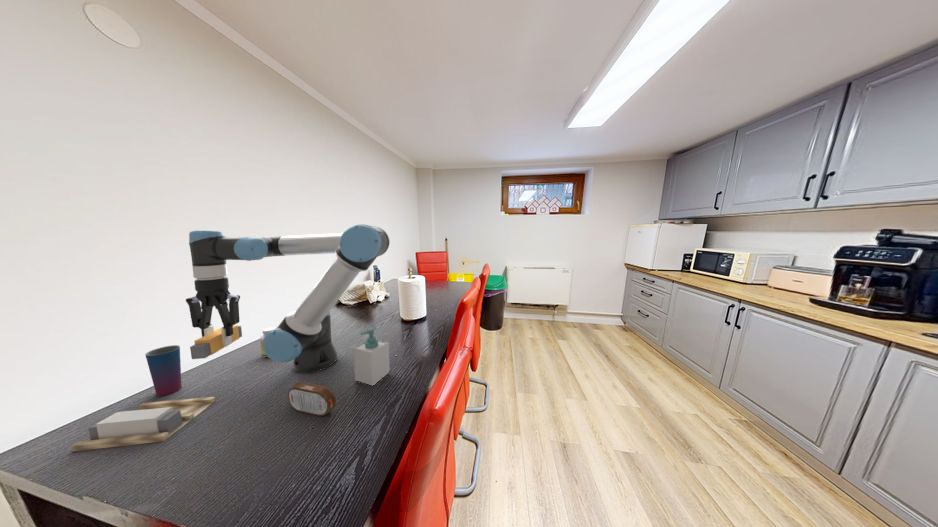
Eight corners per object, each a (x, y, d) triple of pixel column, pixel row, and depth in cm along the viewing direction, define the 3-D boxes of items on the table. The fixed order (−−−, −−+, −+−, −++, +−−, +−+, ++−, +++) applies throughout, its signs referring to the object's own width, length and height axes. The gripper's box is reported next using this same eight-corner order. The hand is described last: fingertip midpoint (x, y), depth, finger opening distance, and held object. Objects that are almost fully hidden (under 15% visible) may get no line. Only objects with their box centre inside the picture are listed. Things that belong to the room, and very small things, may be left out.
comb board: (215, 403, 74) (214, 396, 73) (164, 443, 59) (163, 435, 59) (145, 409, 71) (144, 402, 70) (73, 454, 56) (71, 445, 56)
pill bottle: (261, 359, 99) (259, 333, 97) (262, 353, 104) (259, 328, 102) (281, 355, 103) (279, 329, 101) (281, 349, 108) (279, 325, 106)
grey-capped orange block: (230, 337, 88) (228, 324, 87) (243, 336, 88) (241, 323, 88) (190, 359, 72) (188, 343, 71) (206, 358, 73) (204, 342, 72)
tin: (337, 412, 71) (335, 386, 70) (328, 420, 68) (327, 393, 67) (296, 403, 74) (294, 378, 73) (286, 410, 71) (284, 384, 70)
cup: (162, 402, 74) (154, 356, 72) (146, 398, 75) (139, 354, 73) (191, 388, 80) (185, 346, 79) (176, 385, 82) (170, 344, 80)
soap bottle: (354, 381, 85) (351, 330, 83) (372, 368, 94) (370, 322, 91) (372, 387, 82) (370, 335, 80) (389, 373, 90) (388, 326, 88)
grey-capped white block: (183, 422, 65) (180, 406, 64) (167, 435, 61) (164, 417, 60) (110, 430, 62) (107, 412, 62) (89, 443, 58) (85, 425, 58)
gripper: (250, 275, 83) (256, 338, 86) (189, 276, 79) (198, 342, 82) (234, 279, 76) (241, 348, 78) (167, 280, 72) (177, 353, 75)
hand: (219, 345), depth 80 cm, fingers closed on grey-capped orange block, 4 cm apart
